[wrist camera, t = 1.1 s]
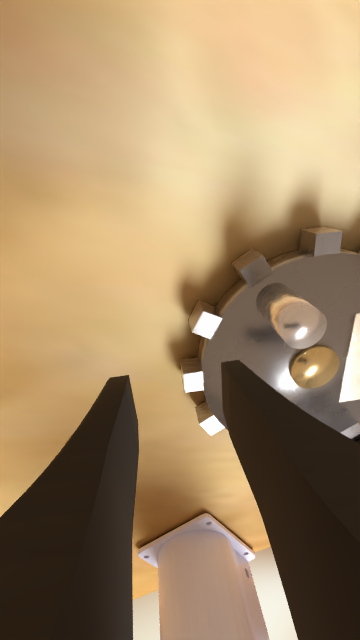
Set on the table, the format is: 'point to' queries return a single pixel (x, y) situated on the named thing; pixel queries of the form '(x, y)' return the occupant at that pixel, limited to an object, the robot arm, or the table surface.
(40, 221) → the table surface
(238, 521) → the table surface
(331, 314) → the sprocket disc
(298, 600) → the robot arm
